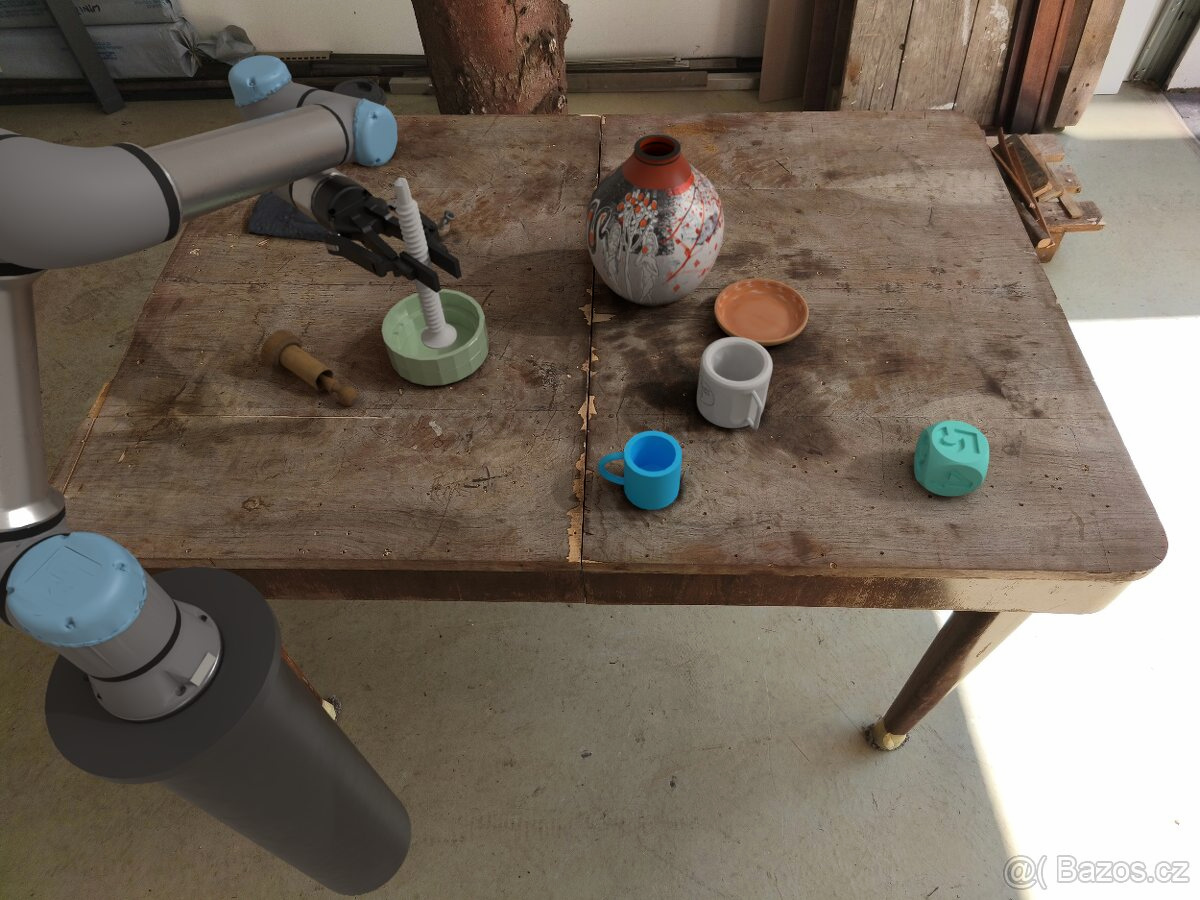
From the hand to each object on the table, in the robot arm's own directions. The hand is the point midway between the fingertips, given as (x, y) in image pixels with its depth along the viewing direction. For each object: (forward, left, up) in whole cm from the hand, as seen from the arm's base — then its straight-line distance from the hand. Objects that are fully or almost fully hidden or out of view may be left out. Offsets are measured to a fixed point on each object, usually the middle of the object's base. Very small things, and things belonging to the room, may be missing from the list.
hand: (447, 276), depth 100 cm
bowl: (-8, +19, -32) cm, 38 cm away
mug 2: (+40, +4, -32) cm, 51 cm away
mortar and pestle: (-35, +18, -29) cm, 49 cm away
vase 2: (+29, +34, -32) cm, 55 cm away
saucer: (+47, +24, -32) cm, 62 cm away
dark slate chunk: (-38, +59, -32) cm, 77 cm away
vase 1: (-10, +50, -32) cm, 60 cm away
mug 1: (+24, -10, -32) cm, 41 cm away
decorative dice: (+69, -10, -32) cm, 77 cm away
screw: (-4, +4, -14) cm, 15 cm away
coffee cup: (-28, +79, -32) cm, 90 cm away
